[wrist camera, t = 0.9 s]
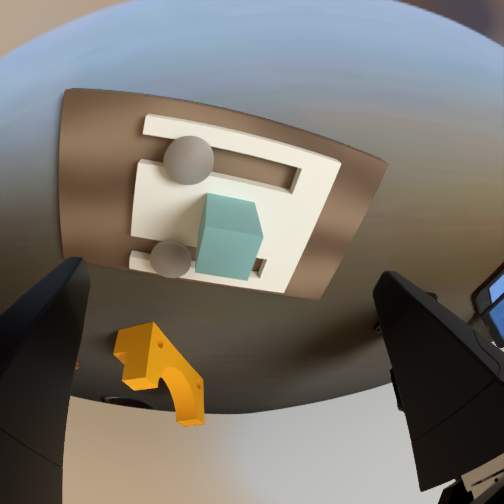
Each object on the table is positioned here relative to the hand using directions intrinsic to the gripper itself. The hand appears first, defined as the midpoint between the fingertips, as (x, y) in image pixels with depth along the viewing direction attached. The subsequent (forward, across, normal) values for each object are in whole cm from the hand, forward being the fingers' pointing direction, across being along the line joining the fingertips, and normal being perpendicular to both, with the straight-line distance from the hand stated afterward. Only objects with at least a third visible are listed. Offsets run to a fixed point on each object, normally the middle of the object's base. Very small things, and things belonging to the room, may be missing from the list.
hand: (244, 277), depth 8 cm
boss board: (+12, 0, +4) cm, 13 cm away
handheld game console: (+11, -42, +10) cm, 45 cm away
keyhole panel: (+11, -1, +4) cm, 12 cm away
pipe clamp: (+12, +4, +24) cm, 27 cm away
